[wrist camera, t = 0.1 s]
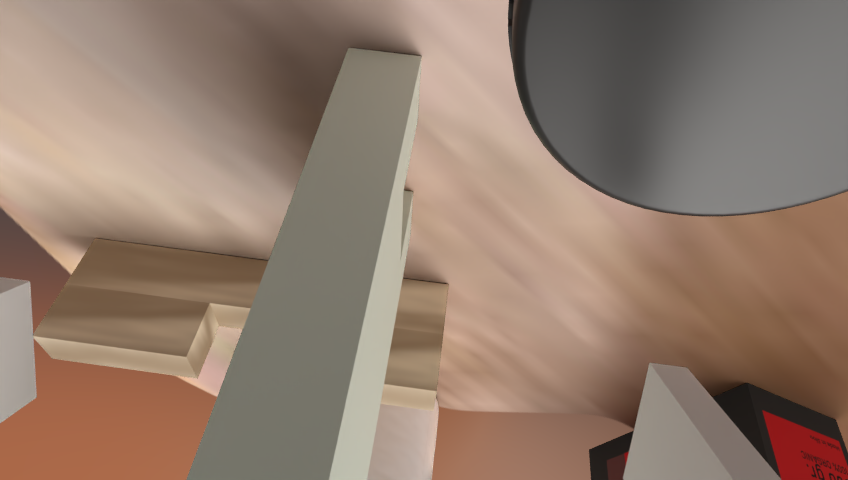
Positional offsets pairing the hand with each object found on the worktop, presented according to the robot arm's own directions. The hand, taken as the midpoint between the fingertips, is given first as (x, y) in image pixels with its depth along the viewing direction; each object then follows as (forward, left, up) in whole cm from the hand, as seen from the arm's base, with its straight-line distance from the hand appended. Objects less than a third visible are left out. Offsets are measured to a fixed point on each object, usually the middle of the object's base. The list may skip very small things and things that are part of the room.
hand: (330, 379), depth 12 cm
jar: (-7, +7, -16) cm, 18 cm away
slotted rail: (+18, -8, -15) cm, 25 cm away
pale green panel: (+7, -1, -15) cm, 17 cm away
